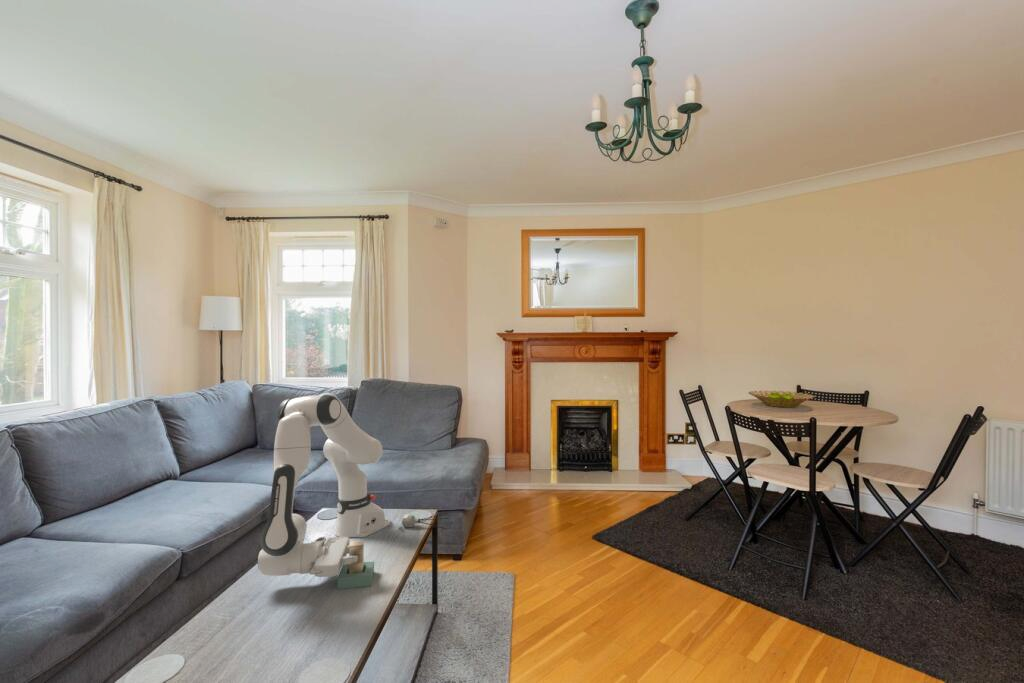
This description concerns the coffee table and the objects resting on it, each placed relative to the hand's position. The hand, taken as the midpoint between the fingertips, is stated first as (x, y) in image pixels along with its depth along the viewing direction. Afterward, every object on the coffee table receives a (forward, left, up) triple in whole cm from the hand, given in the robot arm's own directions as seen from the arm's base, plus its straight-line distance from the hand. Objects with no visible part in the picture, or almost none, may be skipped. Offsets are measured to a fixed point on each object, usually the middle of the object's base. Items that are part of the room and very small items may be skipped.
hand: (359, 553), depth 146 cm
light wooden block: (+1, -1, -9) cm, 9 cm away
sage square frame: (+1, -1, -9) cm, 9 cm away
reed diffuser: (-39, -16, -9) cm, 43 cm away
